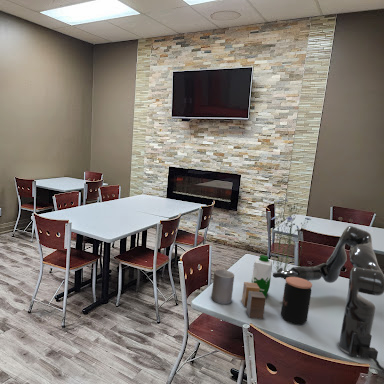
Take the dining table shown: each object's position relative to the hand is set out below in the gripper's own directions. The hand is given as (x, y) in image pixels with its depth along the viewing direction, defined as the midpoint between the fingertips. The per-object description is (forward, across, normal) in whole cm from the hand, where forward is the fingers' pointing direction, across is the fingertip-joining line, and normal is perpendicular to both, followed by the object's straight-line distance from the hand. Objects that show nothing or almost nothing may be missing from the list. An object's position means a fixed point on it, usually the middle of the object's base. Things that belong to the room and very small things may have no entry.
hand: (273, 275), depth 175 cm
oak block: (+19, +10, +10) cm, 24 cm away
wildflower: (-28, -28, +10) cm, 42 cm away
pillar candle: (+31, +3, +10) cm, 33 cm away
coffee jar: (+7, +25, +10) cm, 28 cm away
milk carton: (+7, 0, +10) cm, 13 cm away
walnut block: (+23, +19, +10) cm, 31 cm away
